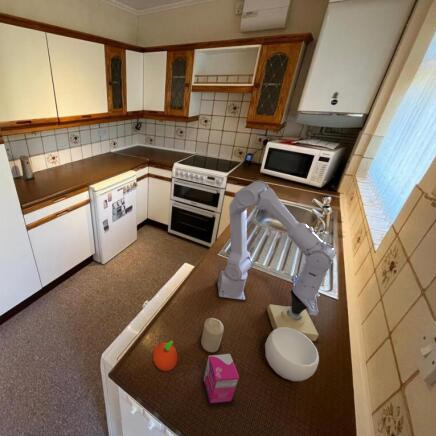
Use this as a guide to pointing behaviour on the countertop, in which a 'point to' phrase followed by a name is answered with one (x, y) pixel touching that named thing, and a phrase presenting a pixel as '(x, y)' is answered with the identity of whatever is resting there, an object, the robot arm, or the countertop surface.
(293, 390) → the countertop surface
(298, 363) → the white bowl
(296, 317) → the grey pebble
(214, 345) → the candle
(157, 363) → the clementine
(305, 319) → the square plate with button
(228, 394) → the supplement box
